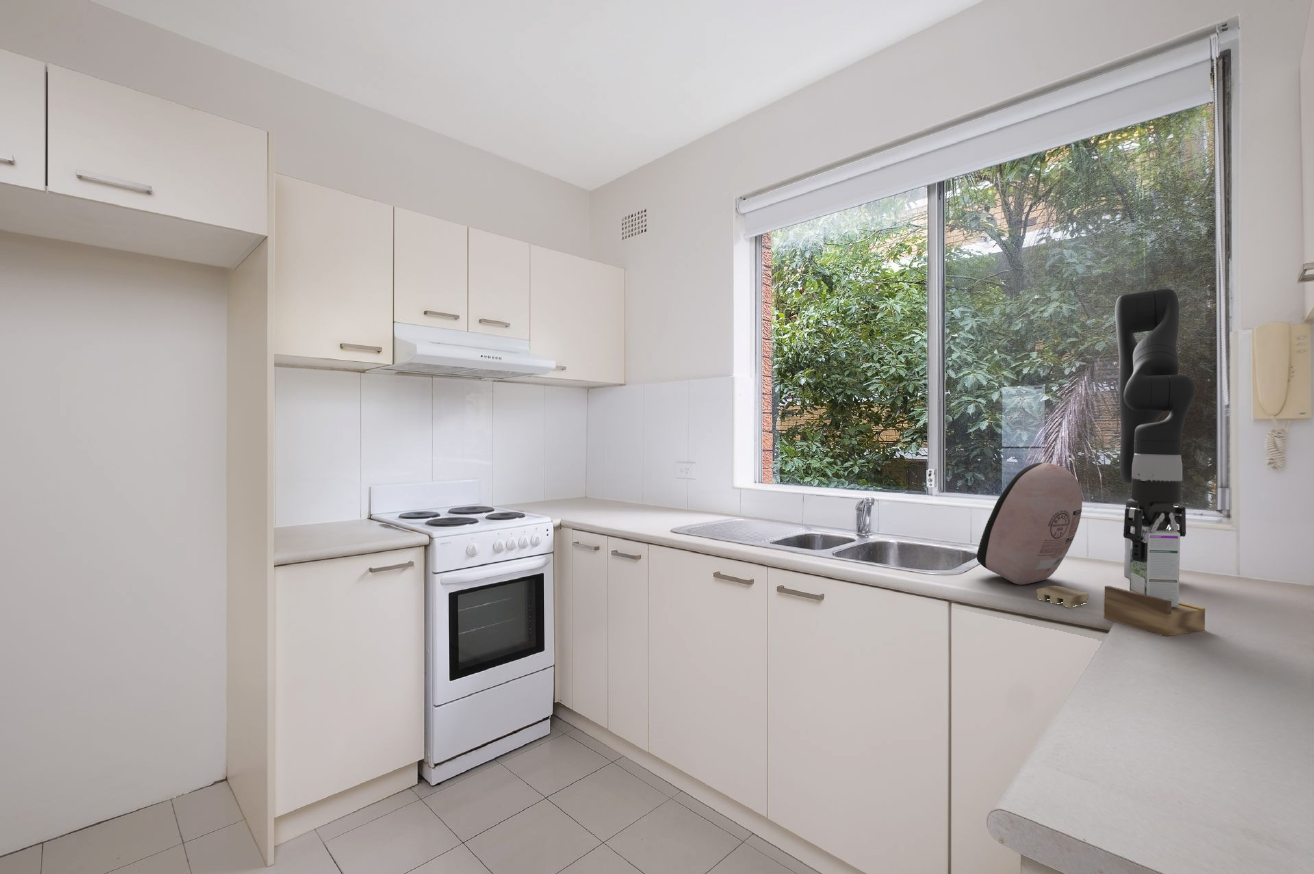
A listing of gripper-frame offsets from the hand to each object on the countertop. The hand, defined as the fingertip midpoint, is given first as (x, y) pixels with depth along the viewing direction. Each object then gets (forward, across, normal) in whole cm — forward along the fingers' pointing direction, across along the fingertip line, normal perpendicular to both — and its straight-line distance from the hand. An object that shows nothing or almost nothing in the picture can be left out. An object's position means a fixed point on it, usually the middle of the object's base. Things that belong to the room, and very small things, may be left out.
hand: (1154, 559), depth 115 cm
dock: (+13, 0, 0) cm, 13 cm away
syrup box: (+9, 0, 0) cm, 9 cm away
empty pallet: (+13, +3, -16) cm, 21 cm away
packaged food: (+13, -6, -31) cm, 34 cm away
